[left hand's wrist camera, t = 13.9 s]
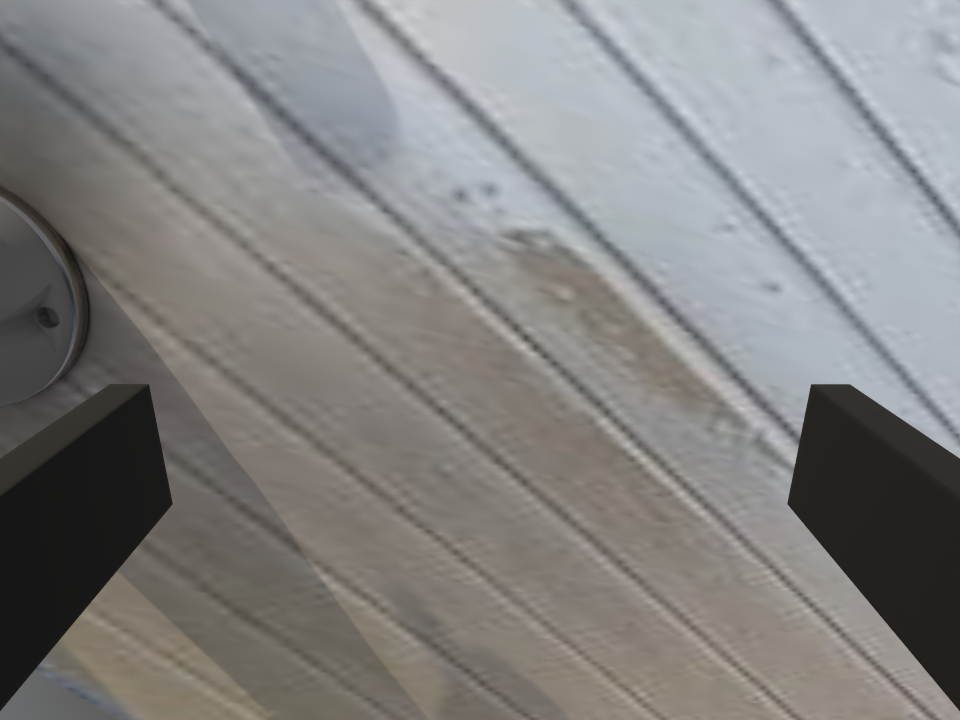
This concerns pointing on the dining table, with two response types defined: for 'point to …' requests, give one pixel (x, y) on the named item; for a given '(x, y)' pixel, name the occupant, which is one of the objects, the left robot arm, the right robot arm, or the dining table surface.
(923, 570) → the left robot arm
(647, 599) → the dining table surface
